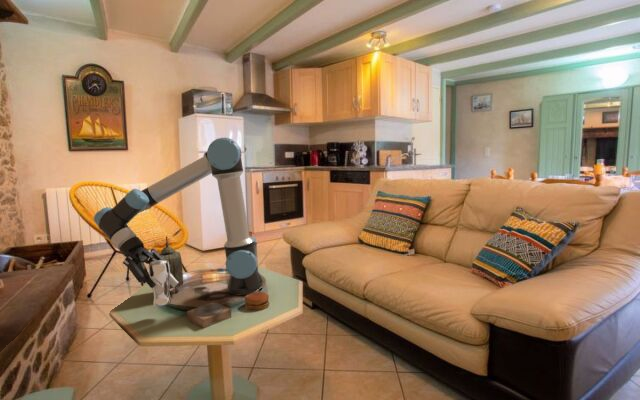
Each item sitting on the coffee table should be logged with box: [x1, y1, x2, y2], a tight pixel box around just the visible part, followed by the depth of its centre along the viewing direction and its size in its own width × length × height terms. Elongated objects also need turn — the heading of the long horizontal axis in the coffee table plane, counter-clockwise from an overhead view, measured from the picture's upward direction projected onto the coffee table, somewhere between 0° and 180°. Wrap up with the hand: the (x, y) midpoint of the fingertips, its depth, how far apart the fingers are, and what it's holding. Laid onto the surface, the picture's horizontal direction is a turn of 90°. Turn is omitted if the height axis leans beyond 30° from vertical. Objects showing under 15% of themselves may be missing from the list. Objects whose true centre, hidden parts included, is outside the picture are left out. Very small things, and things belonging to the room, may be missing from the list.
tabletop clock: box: [157, 236, 184, 294], centre depth 153 cm, size 14×9×25 cm, turn 25°
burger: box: [244, 291, 270, 311], centre depth 139 cm, size 10×9×5 cm
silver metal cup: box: [148, 260, 172, 307], centre depth 129 cm, size 7×7×15 cm
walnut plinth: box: [186, 301, 232, 329], centre depth 129 cm, size 11×11×3 cm
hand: (169, 288), depth 128 cm, fingers closed on silver metal cup, 7 cm apart
